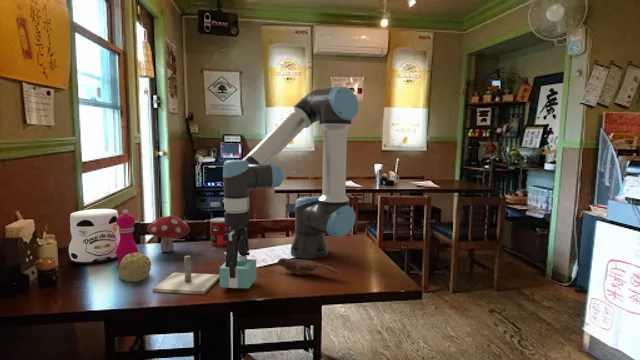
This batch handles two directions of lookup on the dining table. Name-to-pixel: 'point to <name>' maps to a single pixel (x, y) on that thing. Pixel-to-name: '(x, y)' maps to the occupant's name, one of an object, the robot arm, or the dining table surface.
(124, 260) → the rock
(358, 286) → the dining table surface
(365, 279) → the dining table surface
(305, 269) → the bird sculpture
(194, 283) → the rod stand
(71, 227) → the dulce de leche jar
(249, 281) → the teal hollow square block
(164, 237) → the decorative mushroom
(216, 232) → the canned food
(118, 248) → the pepper mill
